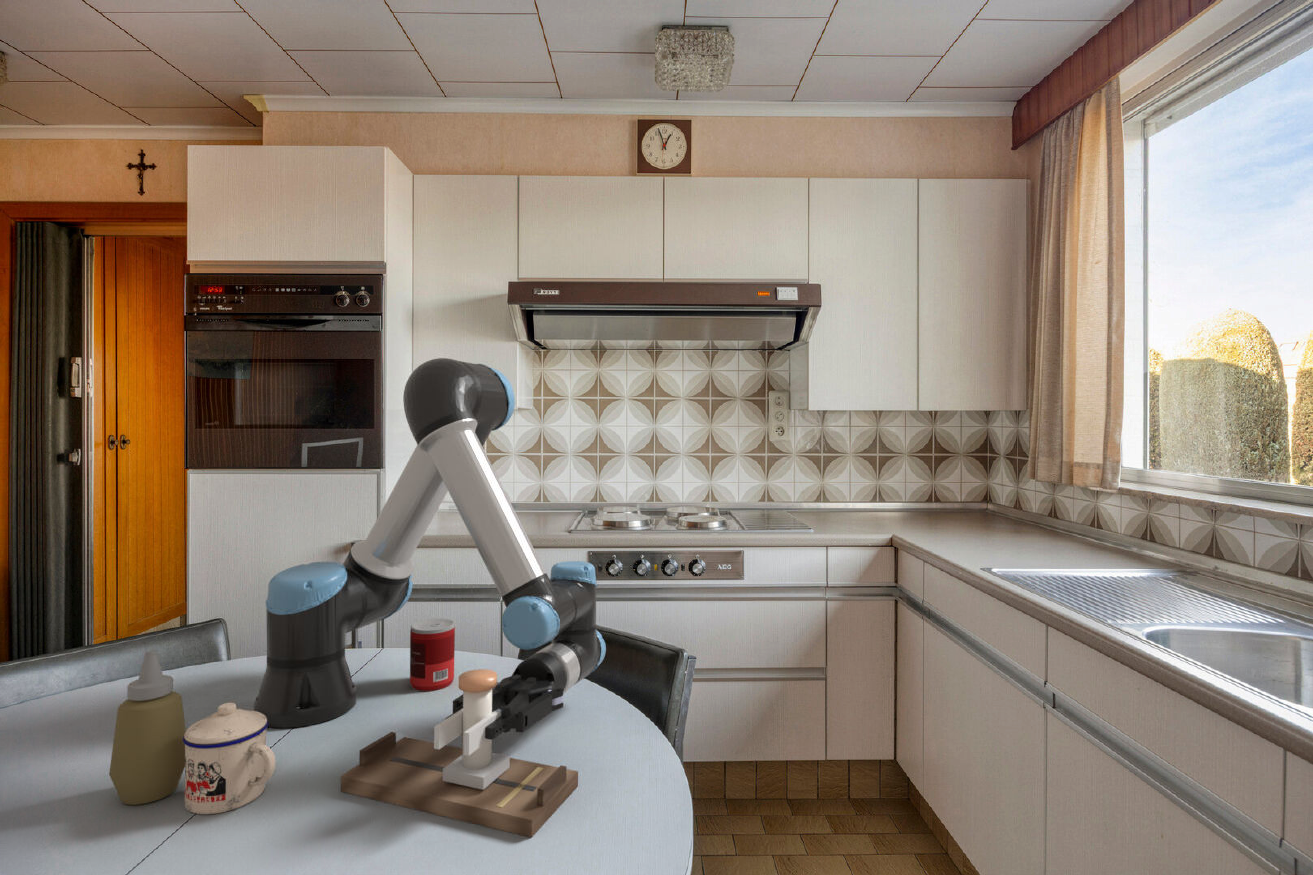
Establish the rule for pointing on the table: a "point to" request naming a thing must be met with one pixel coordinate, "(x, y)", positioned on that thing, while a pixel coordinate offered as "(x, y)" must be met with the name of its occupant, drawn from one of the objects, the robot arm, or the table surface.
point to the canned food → (432, 654)
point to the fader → (476, 706)
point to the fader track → (458, 785)
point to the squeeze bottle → (148, 737)
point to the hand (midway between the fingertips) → (451, 740)
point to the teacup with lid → (226, 760)
